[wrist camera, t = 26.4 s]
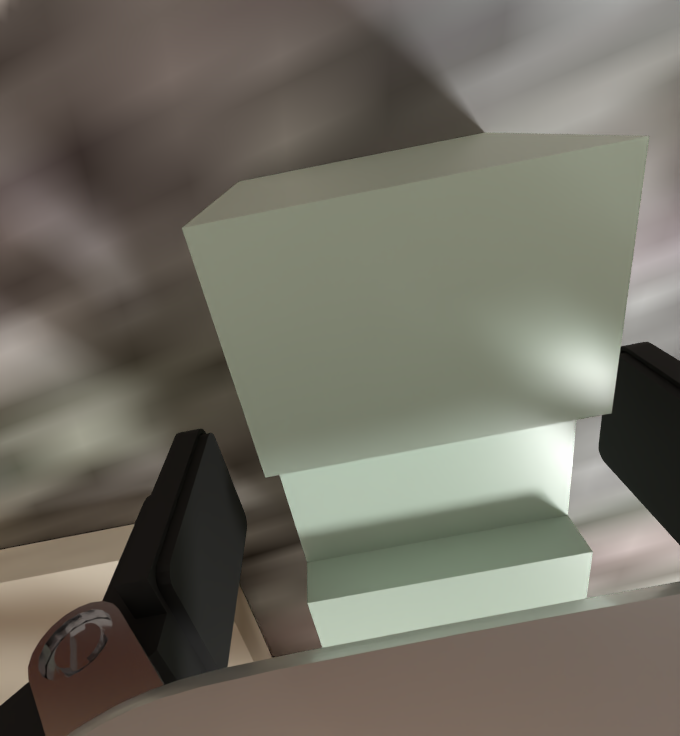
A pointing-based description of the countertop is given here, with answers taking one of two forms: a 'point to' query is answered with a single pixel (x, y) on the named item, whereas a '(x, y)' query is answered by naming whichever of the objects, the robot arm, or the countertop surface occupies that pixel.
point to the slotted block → (428, 363)
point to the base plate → (76, 598)
